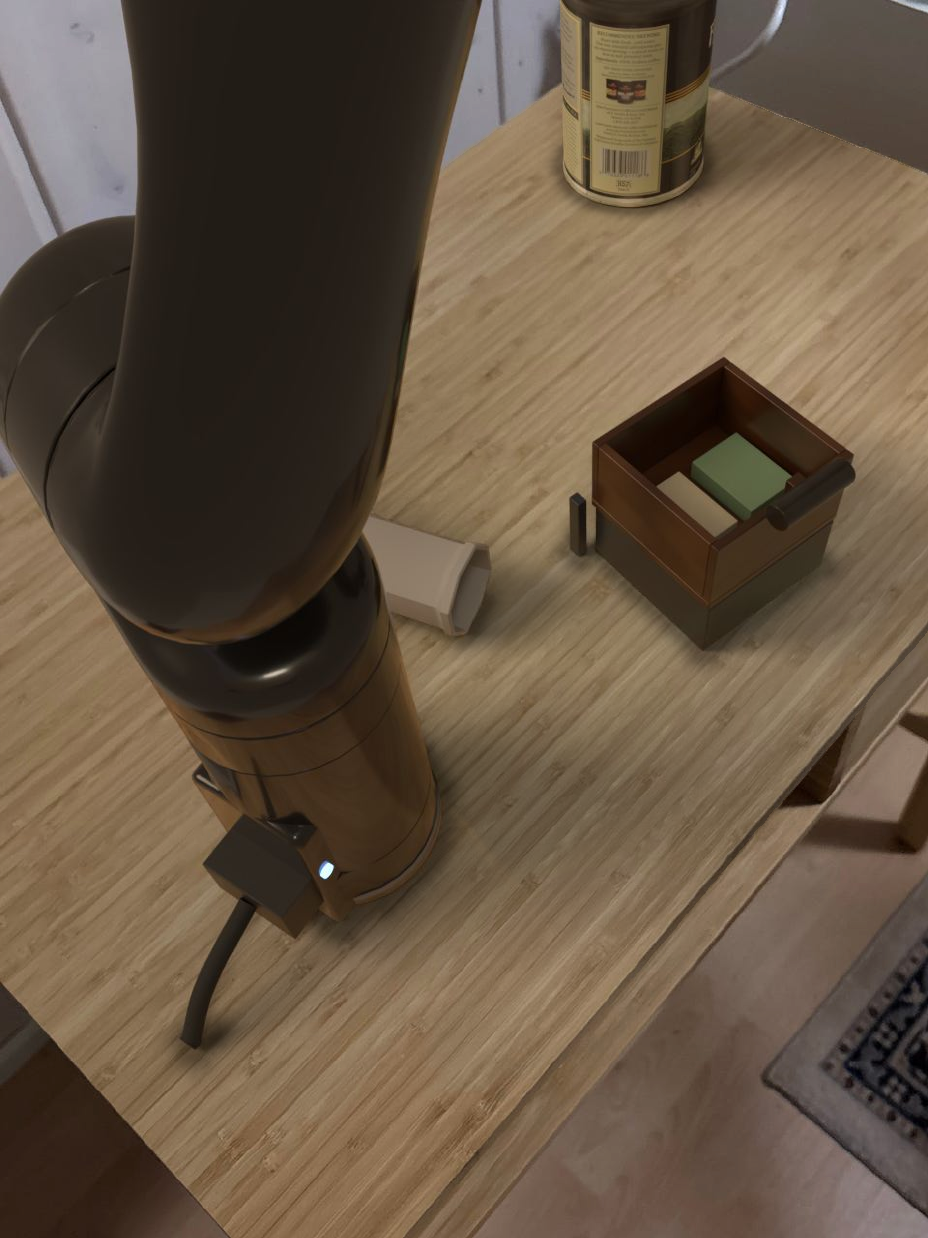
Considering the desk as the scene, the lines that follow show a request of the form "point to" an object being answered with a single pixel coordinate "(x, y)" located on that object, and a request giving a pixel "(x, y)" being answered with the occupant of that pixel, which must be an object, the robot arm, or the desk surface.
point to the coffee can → (635, 96)
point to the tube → (429, 574)
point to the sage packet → (740, 476)
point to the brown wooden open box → (669, 534)
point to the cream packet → (698, 505)
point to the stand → (673, 597)
